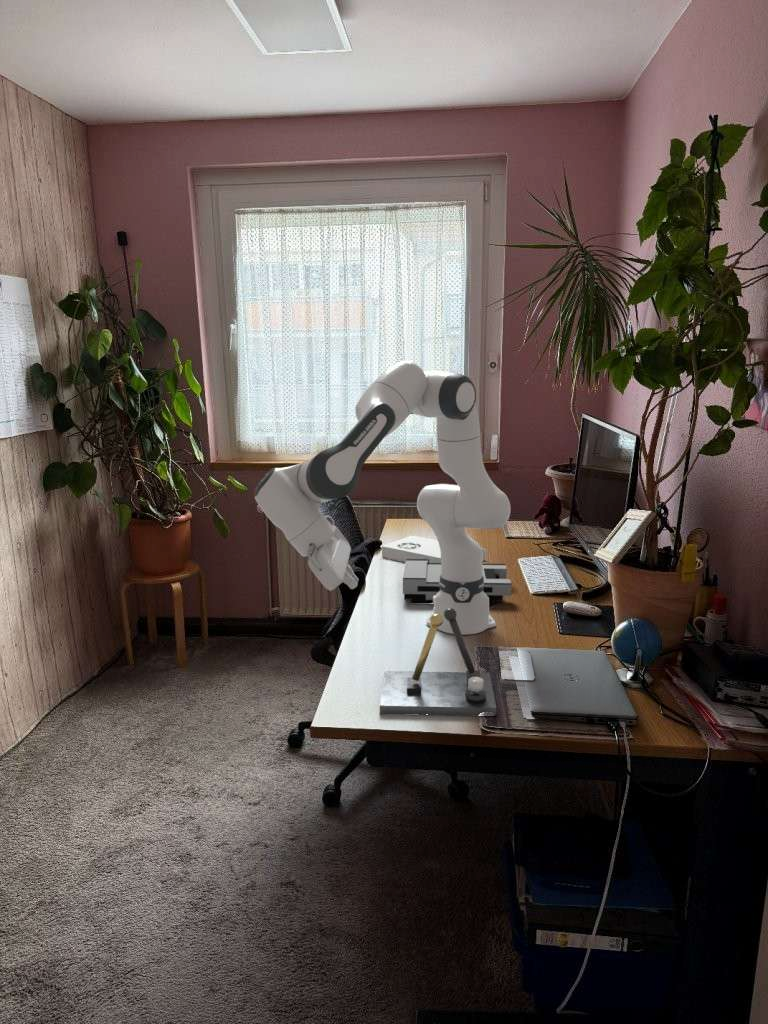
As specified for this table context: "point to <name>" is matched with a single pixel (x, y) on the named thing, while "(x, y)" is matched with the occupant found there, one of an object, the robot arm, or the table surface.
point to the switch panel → (435, 694)
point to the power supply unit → (415, 549)
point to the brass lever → (427, 645)
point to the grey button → (475, 684)
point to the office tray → (425, 578)
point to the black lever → (459, 638)
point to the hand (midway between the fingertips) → (355, 585)
